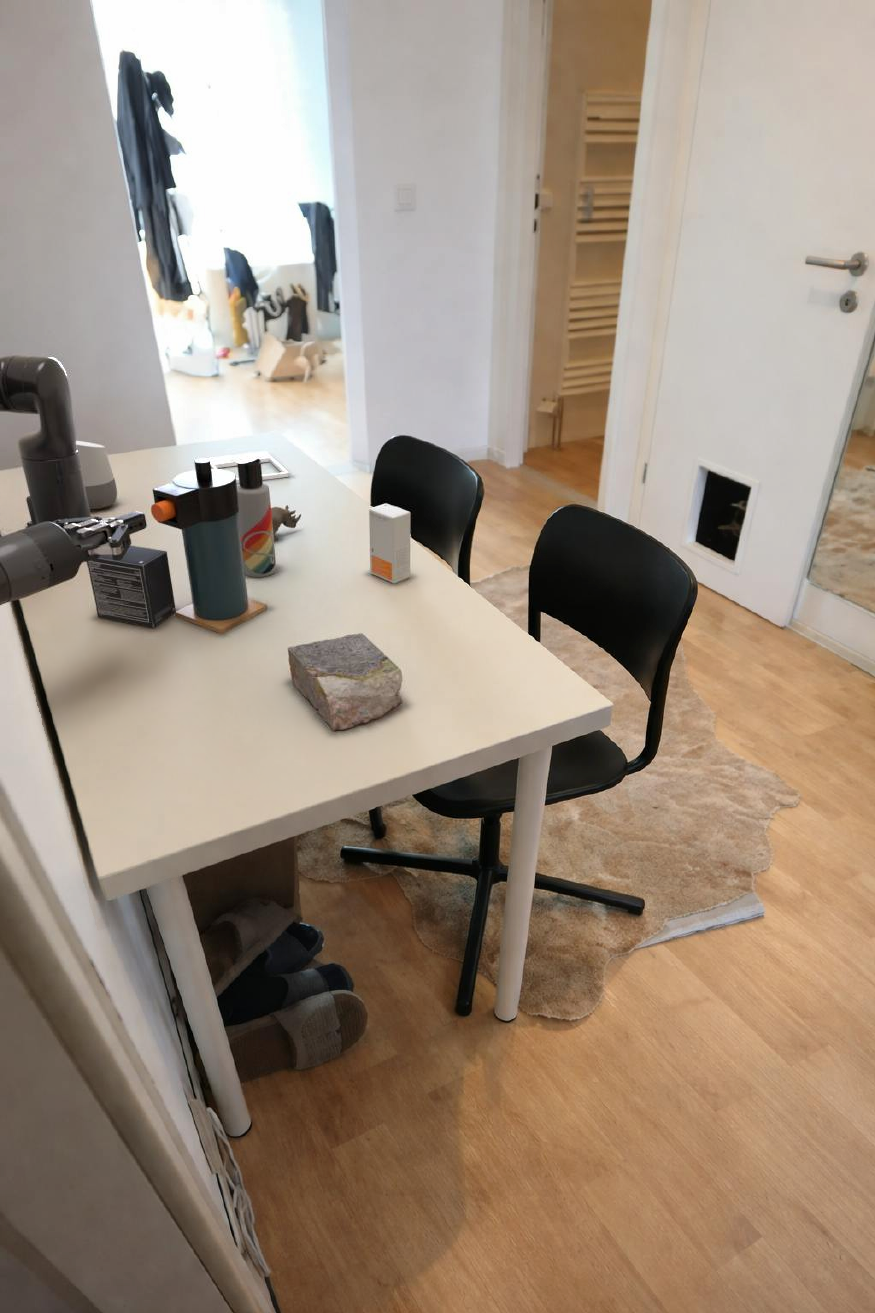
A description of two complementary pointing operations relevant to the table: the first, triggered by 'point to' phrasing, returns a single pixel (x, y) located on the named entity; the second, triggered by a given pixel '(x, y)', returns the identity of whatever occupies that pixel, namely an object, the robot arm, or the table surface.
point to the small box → (133, 587)
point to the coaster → (221, 625)
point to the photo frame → (233, 459)
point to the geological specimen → (346, 679)
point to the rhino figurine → (283, 519)
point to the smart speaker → (97, 475)
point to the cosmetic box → (389, 542)
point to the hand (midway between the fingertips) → (142, 519)
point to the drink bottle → (209, 538)
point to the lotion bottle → (255, 519)
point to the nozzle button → (163, 510)
